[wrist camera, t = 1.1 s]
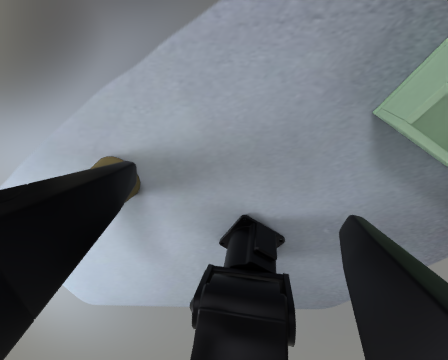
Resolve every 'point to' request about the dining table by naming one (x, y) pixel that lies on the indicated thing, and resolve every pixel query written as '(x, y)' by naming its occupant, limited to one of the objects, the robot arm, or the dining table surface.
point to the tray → (422, 105)
